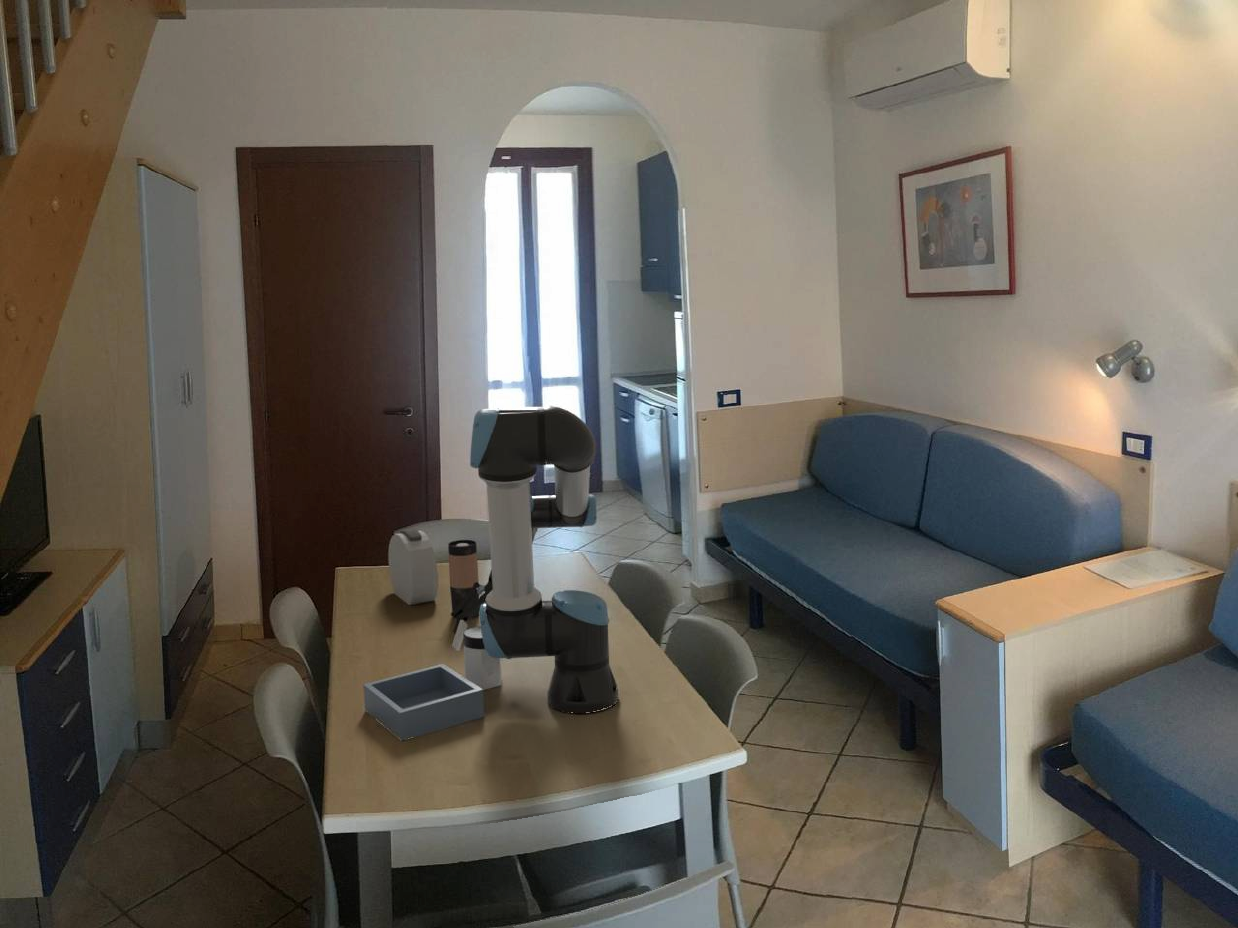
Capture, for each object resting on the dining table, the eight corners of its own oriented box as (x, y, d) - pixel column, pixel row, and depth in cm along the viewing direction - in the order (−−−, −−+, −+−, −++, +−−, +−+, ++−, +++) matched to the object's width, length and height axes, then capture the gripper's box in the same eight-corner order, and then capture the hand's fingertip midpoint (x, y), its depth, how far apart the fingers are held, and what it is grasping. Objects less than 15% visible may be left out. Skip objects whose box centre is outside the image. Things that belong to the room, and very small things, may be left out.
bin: (484, 716, 212) (482, 689, 211) (401, 741, 202) (399, 712, 201) (444, 689, 227) (442, 663, 226) (365, 711, 217) (363, 684, 215)
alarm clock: (439, 604, 287) (435, 535, 283) (414, 609, 283) (409, 539, 280) (414, 585, 305) (410, 520, 302) (390, 589, 301) (385, 524, 298)
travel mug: (486, 613, 278) (482, 541, 275) (467, 621, 272) (463, 548, 268) (464, 608, 282) (460, 538, 279) (445, 616, 276) (441, 544, 273)
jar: (474, 693, 225) (471, 641, 222) (458, 681, 231) (455, 631, 229) (510, 683, 230) (508, 632, 227) (493, 672, 236) (491, 622, 234)
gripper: (562, 580, 240) (538, 663, 229) (466, 572, 248) (439, 652, 237) (552, 564, 234) (528, 649, 223) (455, 556, 242) (426, 638, 231)
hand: (482, 651), depth 230 cm, fingers open, 13 cm apart
